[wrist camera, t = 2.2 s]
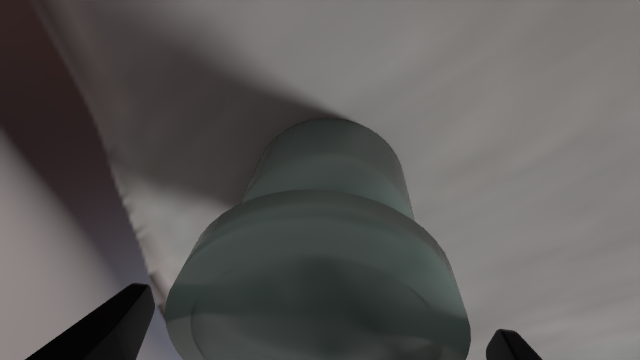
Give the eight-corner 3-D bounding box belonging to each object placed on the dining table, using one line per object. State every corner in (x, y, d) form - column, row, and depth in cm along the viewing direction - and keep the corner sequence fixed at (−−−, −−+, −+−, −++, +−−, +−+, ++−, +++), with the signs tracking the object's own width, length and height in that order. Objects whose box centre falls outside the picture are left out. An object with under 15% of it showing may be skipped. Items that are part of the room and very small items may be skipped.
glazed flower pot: (453, 202, 14) (525, 372, 8) (318, 273, 17) (300, 439, 11) (345, 60, 12) (339, 162, 6) (206, 172, 14) (106, 319, 8)
